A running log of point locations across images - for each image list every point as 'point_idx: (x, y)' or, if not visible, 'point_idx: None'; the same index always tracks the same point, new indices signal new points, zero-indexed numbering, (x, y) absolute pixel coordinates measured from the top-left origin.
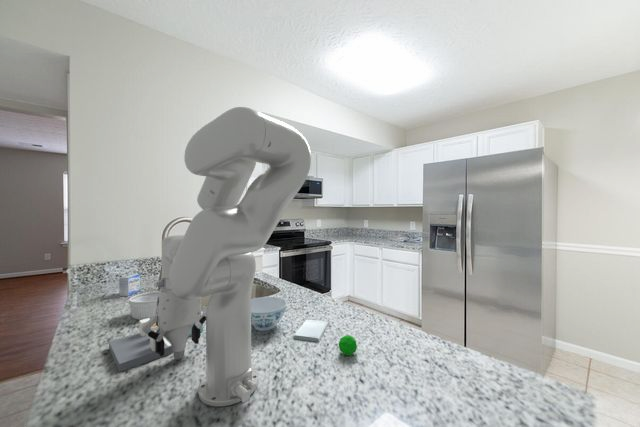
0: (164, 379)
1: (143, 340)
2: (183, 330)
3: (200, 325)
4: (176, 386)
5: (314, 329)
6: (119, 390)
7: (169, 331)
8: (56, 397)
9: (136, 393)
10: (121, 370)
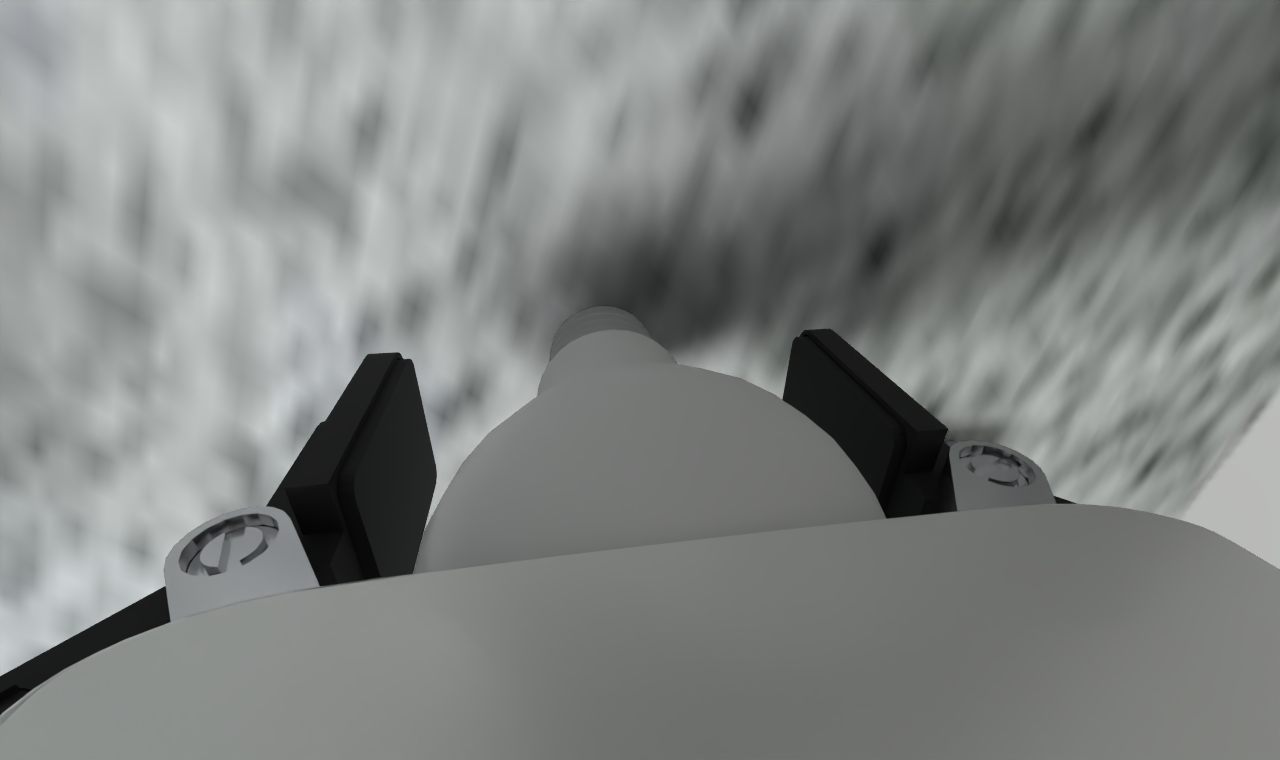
0: (834, 49)
1: None
2: (664, 436)
3: (203, 557)
4: None
5: None
6: (1090, 190)
7: None
8: (1233, 391)
9: (1075, 12)
10: (950, 445)
